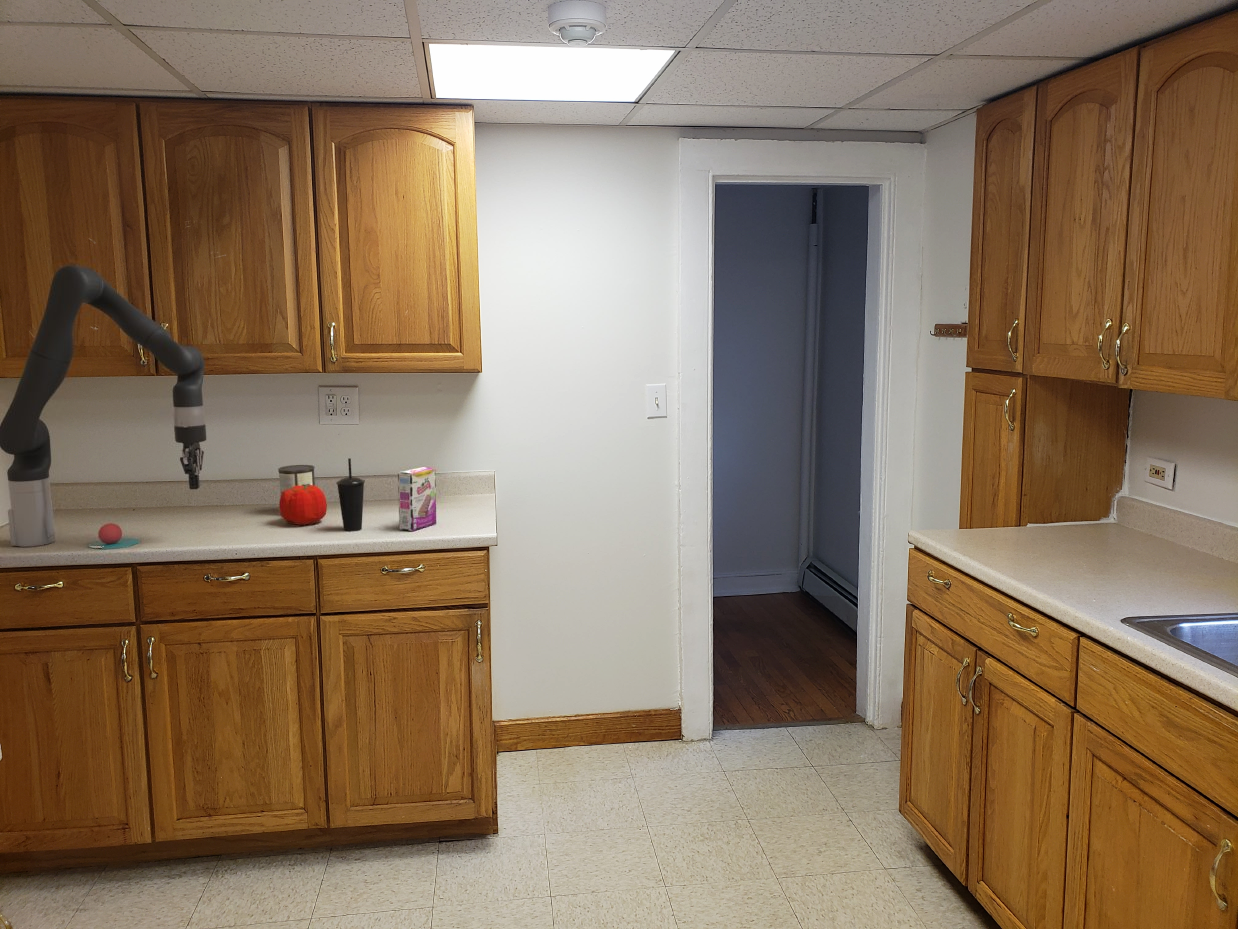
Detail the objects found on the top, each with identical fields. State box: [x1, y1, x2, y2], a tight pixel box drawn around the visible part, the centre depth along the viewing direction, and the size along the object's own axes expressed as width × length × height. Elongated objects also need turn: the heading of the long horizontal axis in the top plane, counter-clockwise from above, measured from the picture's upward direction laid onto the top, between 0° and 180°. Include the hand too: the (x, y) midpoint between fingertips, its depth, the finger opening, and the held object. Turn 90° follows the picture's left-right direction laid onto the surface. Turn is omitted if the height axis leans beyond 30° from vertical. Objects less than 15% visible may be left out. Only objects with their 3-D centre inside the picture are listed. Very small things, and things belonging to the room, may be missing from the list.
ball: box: [97, 522, 123, 544], centre depth 248 cm, size 6×6×6 cm
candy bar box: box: [397, 466, 437, 532], centre depth 266 cm, size 11×5×16 cm, turn 154°
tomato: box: [278, 485, 328, 526], centre depth 272 cm, size 14×13×10 cm
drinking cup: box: [335, 457, 366, 532], centre depth 263 cm, size 8×8×20 cm
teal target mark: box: [88, 537, 141, 550], centre depth 249 cm, size 12×12×1 cm
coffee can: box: [278, 464, 316, 496], centre depth 285 cm, size 10×10×14 cm
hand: (194, 488), depth 250 cm, fingers closed
